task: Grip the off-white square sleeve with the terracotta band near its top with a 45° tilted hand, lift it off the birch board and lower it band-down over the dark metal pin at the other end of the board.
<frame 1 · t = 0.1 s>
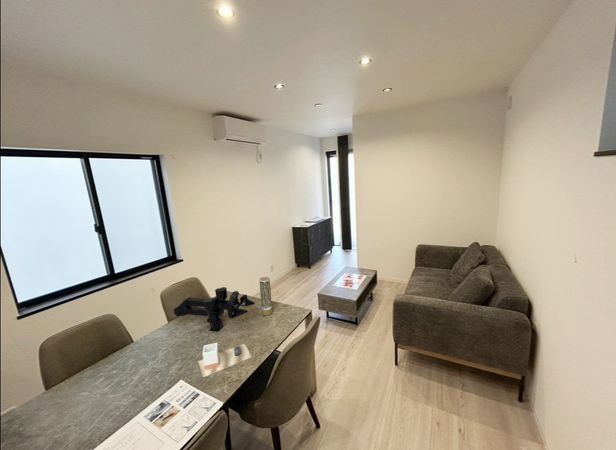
hand: (251, 307, 149), 17 cm above the table, tool horizontal, fingers open, 9 cm apart
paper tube: (267, 313, 174), on the table
sleeve: (212, 364, 126), point 1 cm above the table, touching pin board
pin board: (225, 360, 130), on the table
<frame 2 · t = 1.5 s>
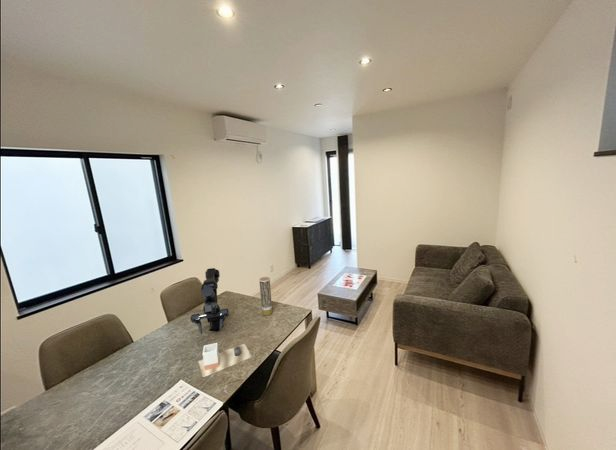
hand: (210, 332, 132), 14 cm above the table, tool tilted 45°, fingers open, 9 cm apart
nothing on the table moved.
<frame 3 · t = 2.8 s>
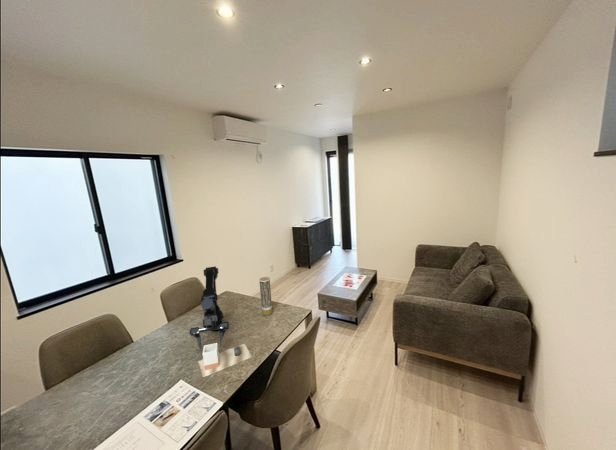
hand: (210, 346, 127), 10 cm above the table, tool tilted 45°, fingers open, 9 cm apart
nothing on the table moved.
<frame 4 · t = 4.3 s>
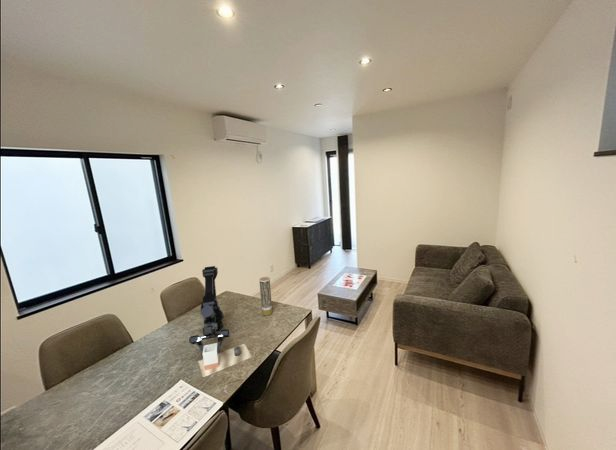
hand: (210, 355, 124), 7 cm above the table, tool tilted 45°, fingers closed on sleeve, 6 cm apart
sleeve: (212, 364, 126), point 1 cm above the table, touching gripper, pin board
everything else where it was.
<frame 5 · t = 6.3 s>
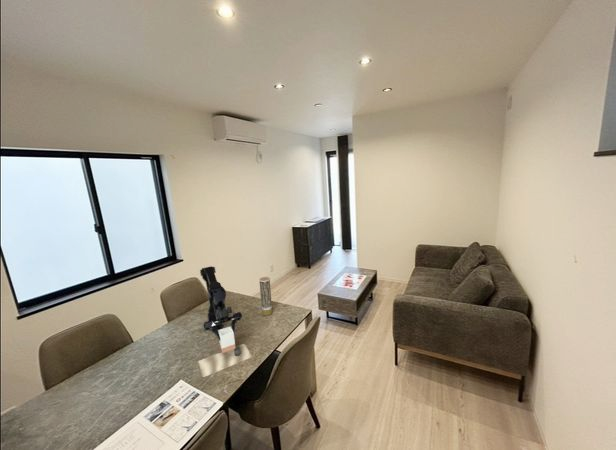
hand: (226, 337, 127), 13 cm above the table, tool tilted 45°, fingers closed on sleeve, 6 cm apart
sleeve: (227, 347, 129), point 7 cm above the table, touching gripper
everything else where it was.
when the fingers open (8 cm above the table, at t = 8.5 s): sleeve drops 1 cm, resting on pin board.
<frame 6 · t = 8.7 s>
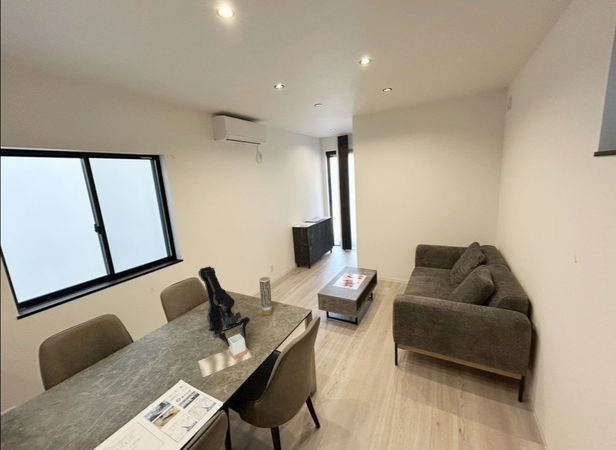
hand: (237, 342, 130), 8 cm above the table, tool tilted 45°, fingers open, 8 cm apart
sleeve: (237, 354, 133), point 1 cm above the table, touching pin board
everything else where it was.
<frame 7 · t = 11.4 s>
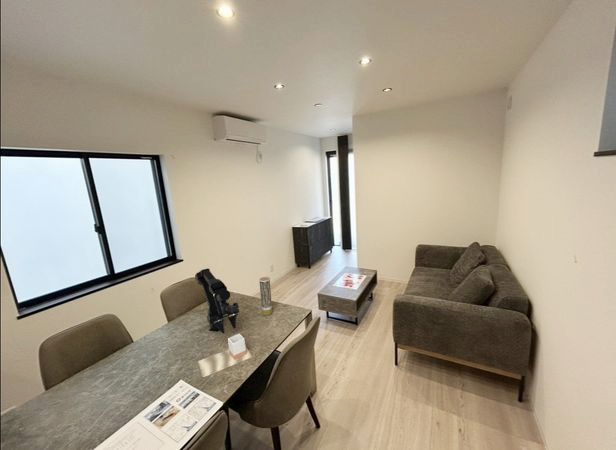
hand: (229, 330, 140), 9 cm above the table, tool tilted 30°, fingers open, 9 cm apart
nothing on the table moved.
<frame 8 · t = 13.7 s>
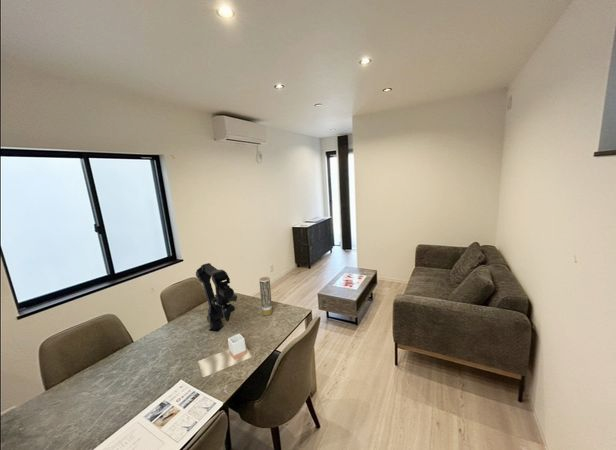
hand: (224, 318, 146), 13 cm above the table, tool pointing down, fingers open, 9 cm apart
nothing on the table moved.
at the end: sleeve 0.0 cm from the target spot on the pin board, point 1.0 cm above the pin board's base; sleeve tilted 0°; the gripper is holding nothing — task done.
